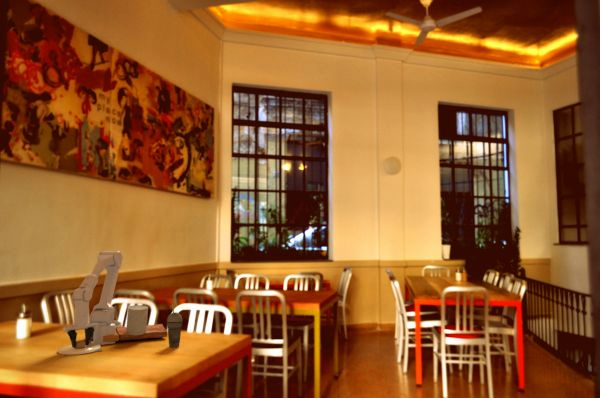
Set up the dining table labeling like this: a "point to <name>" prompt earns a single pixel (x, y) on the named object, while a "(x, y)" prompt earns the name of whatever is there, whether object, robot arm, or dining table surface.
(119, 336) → the brown wooden board
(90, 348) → the lid
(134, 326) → the grey cylinder
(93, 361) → the dining table surface
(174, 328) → the beverage cup
